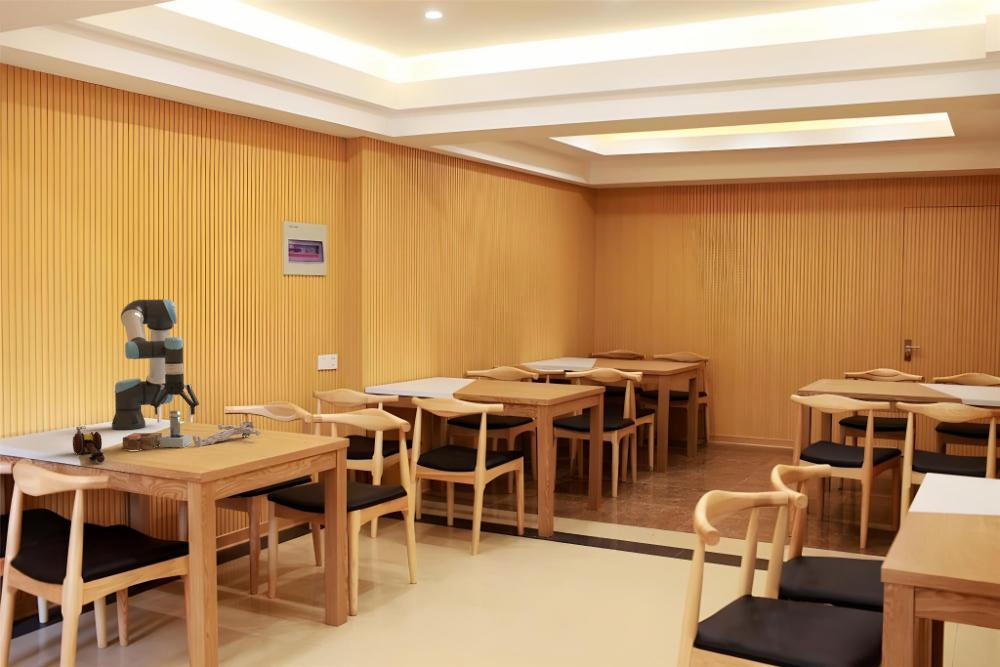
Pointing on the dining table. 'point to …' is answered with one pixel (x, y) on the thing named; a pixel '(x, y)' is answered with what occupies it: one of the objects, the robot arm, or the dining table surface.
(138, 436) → the key
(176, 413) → the peg
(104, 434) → the dining table surface
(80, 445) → the gavel
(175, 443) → the grey square frame
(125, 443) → the socket block
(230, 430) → the toy
